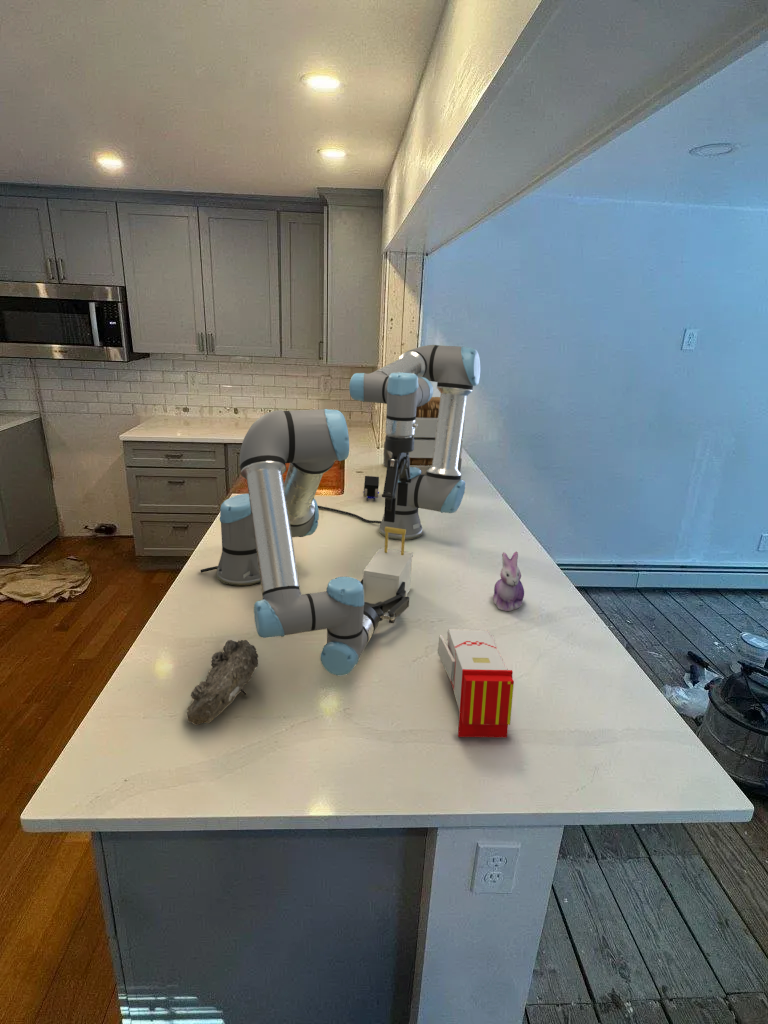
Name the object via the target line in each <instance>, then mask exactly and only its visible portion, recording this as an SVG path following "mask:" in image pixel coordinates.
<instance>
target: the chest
mask: <svg viewBox="0 0 768 1024" xmlns="http://www.w3.org/2000/svg"><path fill="white" fill-rule="evenodd" d="M412 562H413V558H412V559H411V561H410V562H409V564H408V566H407V568H406V569H405V571H404V573H403V575H402V576H401V578H400V580H399V581H398V580H392V579H386V578H380V577H373V576H367V575H363V574H362V579H363V590H364V602H368V603H373V604H376V603H378V602H380V601H381V602H384V601H386V600H388V599H390V598H392V597H395V596H396V592H397V591H398V589H399V587H400V585H401V584H402V582H405V591H406V597H408V594H409V593H410V591H411V578H412ZM386 613H387V612H386Z"/></svg>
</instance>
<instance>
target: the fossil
mask: <svg viewBox="0 0 768 1024" xmlns="http://www.w3.org/2000/svg"><path fill="white" fill-rule="evenodd" d="M222 648H223V652H222V651H216V652H214V654H212V656H211V660H210V663H211V664H210V667H211V668H210V670H209V671H208V673H207V675H206V678H205V680H202V681H200V682H199V683H198V684H197V685H195V686H194V688H193V689H192V692H191V693H190V696H191V698H192V702H191V704H190V705H189V706H188V707H187V709H186V710H187V711H186V717H187V722H188V723H192V724H194V725H195V726H196V725H202V724H206V723H208V724H211V722H213V721H214V720H215V719H216V717H218V716H219V715H220V714H222V713H223V711H225V709H226V708H227V707H228V706H230V704H232V703H233V702H234V700H235V699H236V696H237V695H239V694H240V692H241V693H242V695H244V696H248V693H247V692H246V691H245V690H244V688H243V687H244V686H245V684H248V683H250V681H251V679H252V678H253V675H254V673H255V671H256V669H257V668H258V667H259V654H258V650H257V648H256V647H255V645H253V644H251V643H250V641H248V639H240V640H238V641H237V640H236V641H235V640H232V639H228V640H227V641H225V643H224V645H223V647H222Z"/></svg>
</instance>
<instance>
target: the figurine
mask: <svg viewBox="0 0 768 1024" xmlns="http://www.w3.org/2000/svg"><path fill="white" fill-rule="evenodd" d="M501 558H502V559H501V560H502V568H501V570H500V574H499V575H500V579H498V580H497V581H496V582H495V584H494V588H493V598H492V600H493V604H494V605H495V606H496V607H497V609H498V610H500V611H504V612H505V611H506V612H512V611H513V610H518V609H519V608H521V605H522V604H523V601H524V598H525V589H524V585H523V583H522V581H521V578H522V573H521V570H520V568H519V566H518V560H519V552H518V551H515V552H514V553H513V554H512V556H511V558H509V557H508V555H507V553H506V552H505V551H503V552H502V553H501Z"/></svg>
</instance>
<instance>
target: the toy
mask: <svg viewBox="0 0 768 1024" xmlns="http://www.w3.org/2000/svg"><path fill="white" fill-rule="evenodd" d="M446 640H447V643H446V641H445V639H444V636H443V635H442V634H439V637H438V646H437V656H438V657H439V659H440V661H441V663H442V666H443V668H444V670H445V672H446V674H447V677H448V679H449V681H450V684H451V687H452V690H453V693H454V697H455V701H456V705H457V708H458V711H459V714H458V715H459V716H458V730H457V731H458V732H457V737H458V738H508V731H509V726H510V725H511V717H512V707H513V697H514V696H513V695H514V684H515V680H514V679H513V673H514V671H513V670H512V669H508V667H507V665H506V662H505V661H504V659H503V658H502V655H501V653H500V651H499V649H498V647H497V643H496V639H495V637H494V635H493V634H491V632H490V631H489V629H467V628H466V629H465V628H463V629H461V628H460V629H459V628H448V630H447V639H446Z"/></svg>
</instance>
